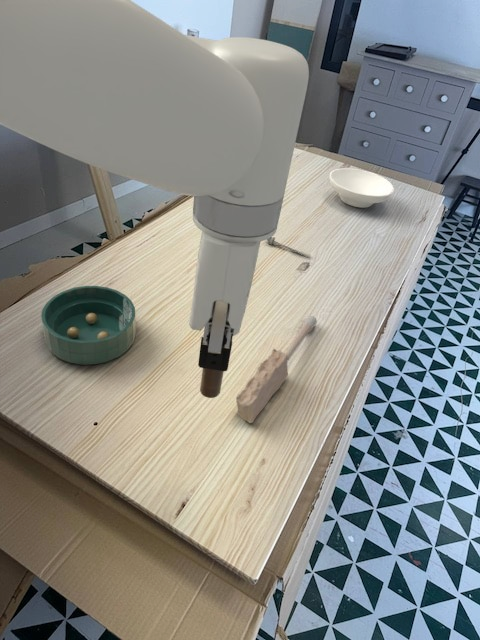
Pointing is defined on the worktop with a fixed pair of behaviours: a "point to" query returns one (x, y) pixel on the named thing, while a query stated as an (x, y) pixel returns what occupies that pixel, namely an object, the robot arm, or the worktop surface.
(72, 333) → the bead
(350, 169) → the bowl
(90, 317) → the bead
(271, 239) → the screw
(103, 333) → the bead
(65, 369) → the worktop surface
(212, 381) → the stick
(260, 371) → the tan handled block
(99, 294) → the mixing bowl
